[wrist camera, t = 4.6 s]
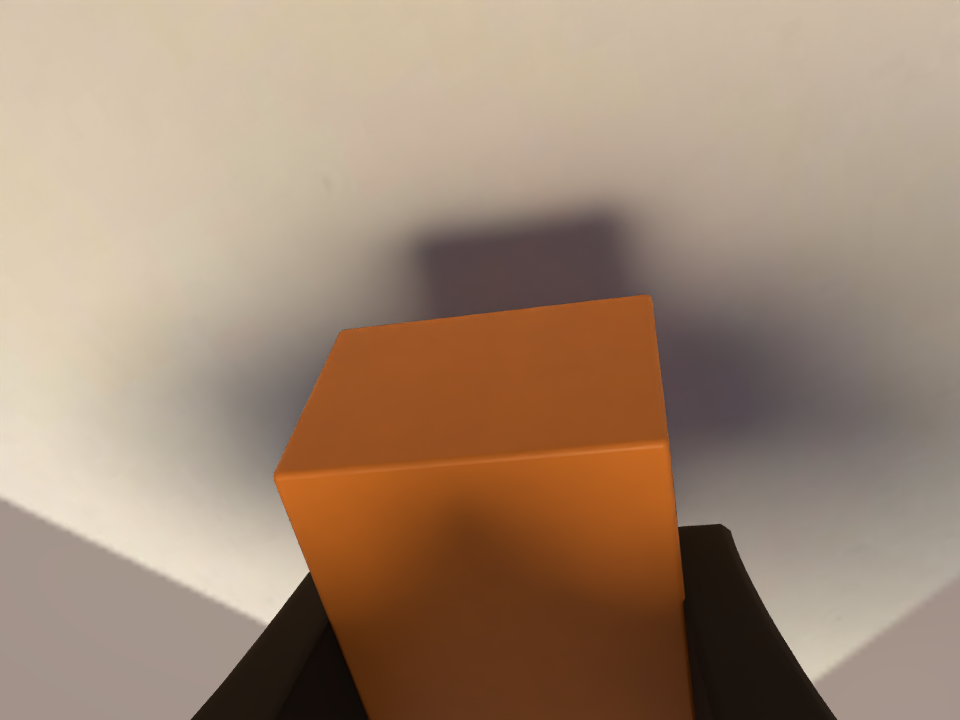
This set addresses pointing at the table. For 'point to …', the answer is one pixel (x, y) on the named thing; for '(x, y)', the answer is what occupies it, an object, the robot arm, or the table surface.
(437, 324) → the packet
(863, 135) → the table surface
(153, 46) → the table surface
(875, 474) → the table surface
